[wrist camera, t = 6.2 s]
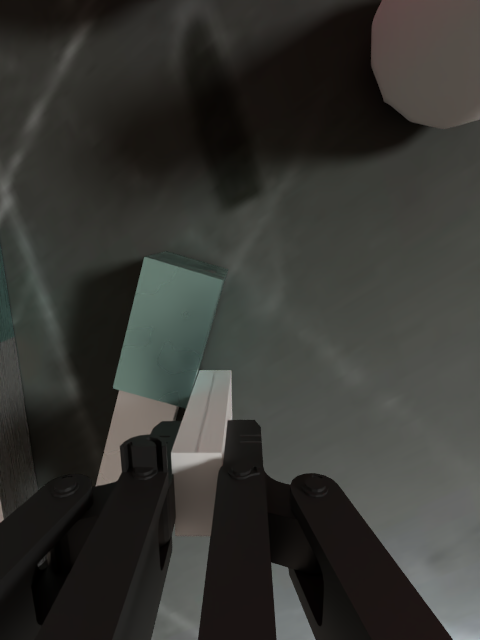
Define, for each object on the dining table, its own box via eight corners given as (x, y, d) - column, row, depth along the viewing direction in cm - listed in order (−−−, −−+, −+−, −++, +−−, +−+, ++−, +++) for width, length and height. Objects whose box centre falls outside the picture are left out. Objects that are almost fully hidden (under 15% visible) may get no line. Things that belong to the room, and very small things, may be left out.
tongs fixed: (120, 719, 24) (94, 821, 20) (26, 720, 24) (-19, 821, 20) (62, 226, 17) (6, 224, 13) (-65, 229, 17) (-159, 228, 13)
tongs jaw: (116, 652, 22) (89, 741, 18) (56, 637, 22) (15, 724, 18) (228, 269, 17) (223, 280, 14) (151, 246, 17) (124, 250, 13)
